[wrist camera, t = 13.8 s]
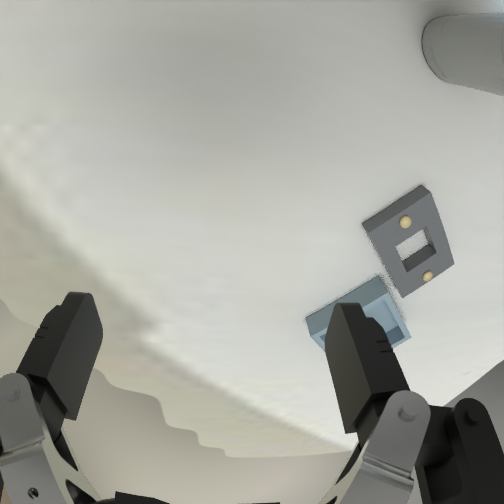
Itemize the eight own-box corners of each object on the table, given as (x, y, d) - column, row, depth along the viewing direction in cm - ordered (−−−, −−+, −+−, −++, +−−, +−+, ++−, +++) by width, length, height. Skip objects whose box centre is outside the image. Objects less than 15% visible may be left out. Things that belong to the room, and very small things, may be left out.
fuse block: (421, 184, 38) (432, 193, 35) (446, 255, 44) (456, 265, 41) (361, 223, 40) (369, 235, 38) (396, 288, 47) (403, 300, 44)
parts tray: (378, 275, 45) (388, 292, 42) (403, 321, 51) (411, 337, 48) (305, 317, 49) (310, 336, 45) (340, 356, 55) (345, 373, 51)
